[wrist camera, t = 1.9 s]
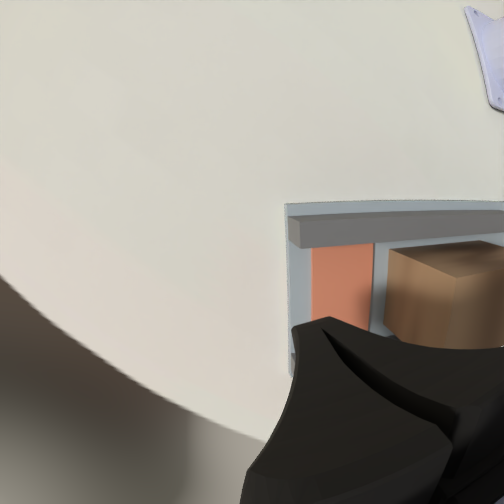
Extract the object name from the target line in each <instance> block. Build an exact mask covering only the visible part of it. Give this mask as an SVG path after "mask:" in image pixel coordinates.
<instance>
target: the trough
mask: <svg viewBox="0 0 504 504" xmlns="http://www.w3.org/2000/svg"><path fill="white" fill-rule="evenodd" d="M284 205H285V227H286V253H287V286H288V339H289V374H290V377H293V375H294V368H295V360H296V355H295V349H294V344H293V338H292V333H291V329H292V328H293V326H295V325H299V324H303V323H306V322H310V321H313V320H317V319H320V318H324V317H327V316H331V317H334V318H336V319H339V320H341V321H344V322H346V323H349V324H351V325H354V326H356V327H359V328H361V329H364V330H366V331H369V332H372V333H375V334H378V335H381V336H384V337H387V338H391V339H394V340H398V341H401V340H400V339H399V338H398V337H397V336H396V335H395V334H393V333H392V332H391V331H390V330H389V329H388V328H387V327H386V326H384V325H383V320H384V310H385V300H386V288H387V273H388V254H389V249H393V248H403V247H414V246H424V245H435V244H445V243H455V242H465V241H475V240H481V241H485V242H488V243H492V244H495V245H499V246H502V247H504V202H502V201H470V200H372V201H336V202H311V203H290V204H284Z"/></svg>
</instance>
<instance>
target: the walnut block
mask: <svg viewBox="0 0 504 504" xmlns="http://www.w3.org/2000/svg"><path fill="white" fill-rule="evenodd" d="M383 325H384V326H386V327H387V328H388V329H389V330H390V331H391V332H392V333H393V334H395V335H396V336H397V337H398V338H399V339H400V340H401V341H402V342H406V343H411V344H416V345H421V346H427V347H435V348H447V349H486V348H497V347H501V346H503V345H504V247H502V246H499V245H495V244H492V243H488V242H485V241H481V240H475V241H465V242H455V243H445V244H435V245H424V246H414V247H403V248H393V249H389V254H388V273H387V288H386V300H385V310H384V320H383Z"/></svg>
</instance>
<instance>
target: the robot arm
mask: <svg viewBox="0 0 504 504" xmlns="http://www.w3.org/2000/svg"><path fill="white" fill-rule="evenodd" d="M464 10H465V13H466V16H467V19H468V22H469V25H470V28H471V31H472V34H473V37H474V40H475V44H476V47H477V51H478V55H479V58H480V62H481V67H482V71H483V75H484V80H485V85H486V90H487V95H488V100H489V103H490V104H491V106H492V107H494V108H496V109H499V110H502V111H504V17H502V18H499V19H497V20H493V19H491V18H490V17H488V16H486V15H485V14H483V13H481V12H479V11H478V10H476V9H474V8H472V7H470V6H466V7H464ZM291 333H292V338H293V344H294V349H295V355H296V360H295V368H294V375H293V380H292V385H291V389H290V392H289V396H288V399H287V402H286V404H285V407H284V410H283V412H282V415H281V417H280V419H279V421H278V423H277V425H276V427H275V429H274V431H273V433H272V435H271V436H270V438H269V440H268V442H267V443H266V445H265V447H264V448H263V449H262V451H261V452H260V454H259V455H258V456H257V458H256V459H255V461H254V462H253V463H252V465H251V466H250V467H249V469H248V470H247V472H246V476H245V480H244V484H243V489H242V494H241V499H240V504H504V347H497V348H486V349H447V348H435V347H427V346H421V345H416V344H411V343H406V342H402V341H398V340H394V339H391V338H387V337H384V336H381V335H378V334H375V333H372V332H369V331H366V330H364V329H361V328H359V327H356V326H354V325H351V324H349V323H346V322H344V321H341V320H339V319H336V318H334V317H331V316H327V317H324V318H320V319H317V320H313V321H310V322H306V323H303V324H299V325H295V326H293V328H292V329H291Z"/></svg>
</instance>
